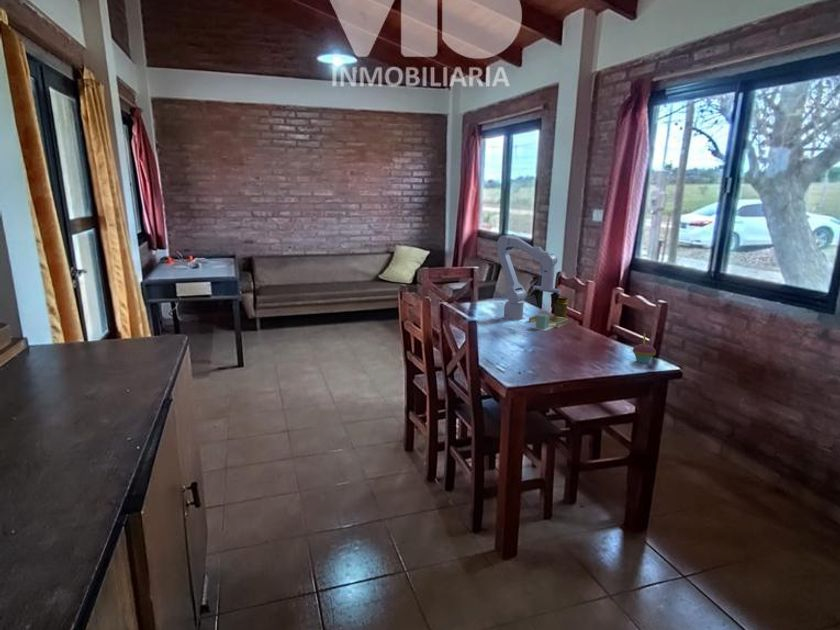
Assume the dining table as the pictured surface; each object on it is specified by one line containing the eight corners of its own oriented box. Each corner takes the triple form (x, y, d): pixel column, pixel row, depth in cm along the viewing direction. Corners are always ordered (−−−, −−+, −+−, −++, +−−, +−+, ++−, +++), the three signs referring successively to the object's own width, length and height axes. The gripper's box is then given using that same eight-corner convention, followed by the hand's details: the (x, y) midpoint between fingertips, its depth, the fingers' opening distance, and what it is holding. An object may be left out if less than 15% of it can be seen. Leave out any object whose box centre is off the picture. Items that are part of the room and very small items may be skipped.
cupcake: (628, 358, 210) (631, 329, 207) (649, 358, 210) (653, 330, 207) (636, 365, 202) (639, 335, 199) (658, 365, 202) (662, 336, 199)
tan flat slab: (529, 323, 262) (529, 317, 261) (540, 318, 271) (540, 313, 270) (558, 328, 252) (558, 323, 251) (568, 324, 261) (569, 318, 260)
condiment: (569, 319, 270) (571, 297, 267) (560, 322, 264) (562, 299, 261) (557, 317, 275) (558, 295, 272) (548, 319, 269) (550, 297, 266)
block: (535, 327, 252) (536, 315, 250) (540, 325, 255) (541, 313, 253) (544, 329, 249) (545, 317, 247) (548, 327, 252) (549, 315, 251)
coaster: (530, 328, 251) (530, 327, 251) (538, 325, 257) (538, 324, 257) (545, 331, 246) (545, 330, 246) (553, 328, 252) (553, 327, 252)
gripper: (565, 280, 250) (562, 307, 254) (538, 276, 260) (536, 302, 263) (558, 282, 245) (555, 309, 249) (531, 278, 255) (529, 304, 258)
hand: (545, 306), depth 256 cm, fingers open, 7 cm apart
